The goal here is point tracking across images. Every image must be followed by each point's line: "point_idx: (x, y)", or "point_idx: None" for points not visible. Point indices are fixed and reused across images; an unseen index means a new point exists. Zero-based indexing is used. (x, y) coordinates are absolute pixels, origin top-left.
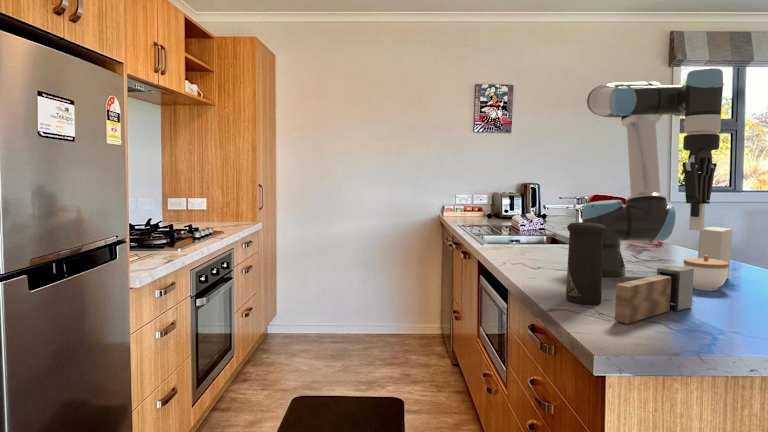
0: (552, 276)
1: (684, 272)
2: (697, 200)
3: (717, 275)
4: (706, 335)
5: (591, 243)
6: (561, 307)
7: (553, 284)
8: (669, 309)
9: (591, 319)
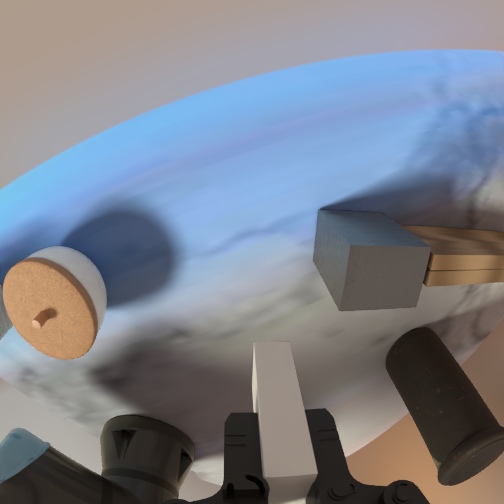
0: None
1: (404, 243)
2: (397, 487)
3: (74, 259)
4: (484, 123)
5: (490, 411)
6: (465, 340)
7: None
8: None
9: None
